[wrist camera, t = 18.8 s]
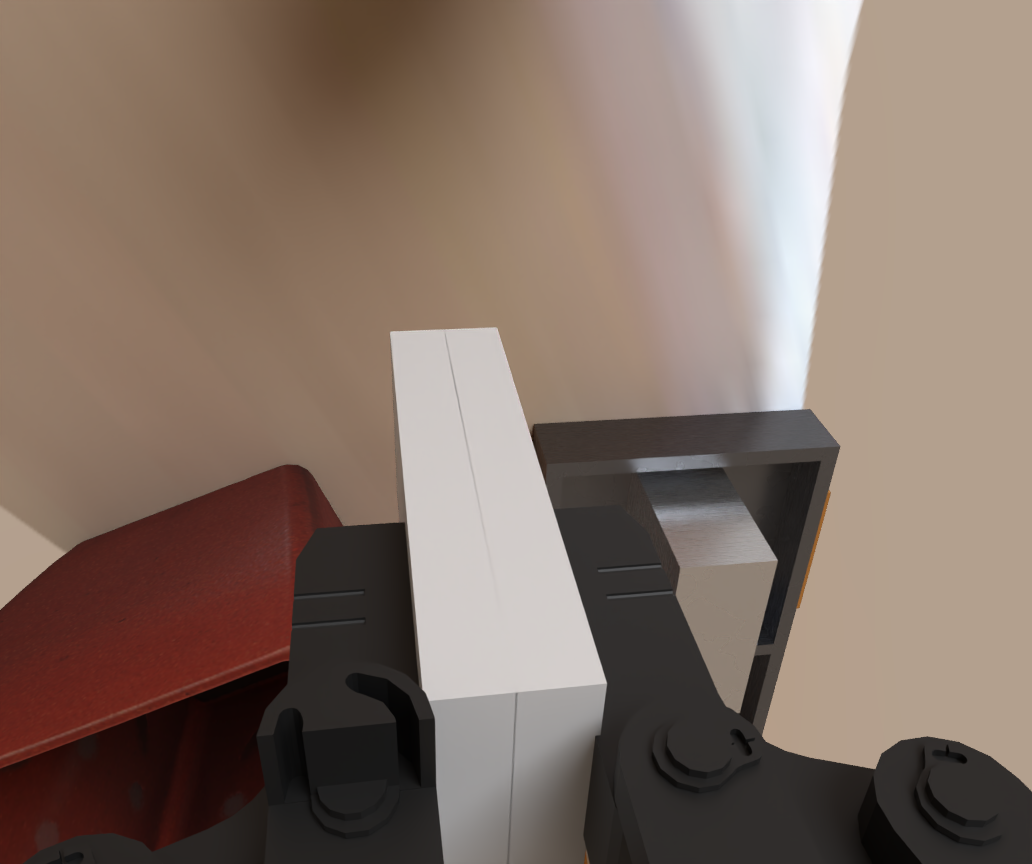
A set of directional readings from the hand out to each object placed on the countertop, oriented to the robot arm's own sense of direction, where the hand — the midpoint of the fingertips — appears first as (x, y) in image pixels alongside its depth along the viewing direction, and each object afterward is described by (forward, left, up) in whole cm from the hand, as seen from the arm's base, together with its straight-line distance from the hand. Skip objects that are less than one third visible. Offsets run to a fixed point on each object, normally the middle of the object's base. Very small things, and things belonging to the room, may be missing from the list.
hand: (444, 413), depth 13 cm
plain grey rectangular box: (+14, -24, -25) cm, 38 cm away
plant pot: (-8, -26, -27) cm, 39 cm away
